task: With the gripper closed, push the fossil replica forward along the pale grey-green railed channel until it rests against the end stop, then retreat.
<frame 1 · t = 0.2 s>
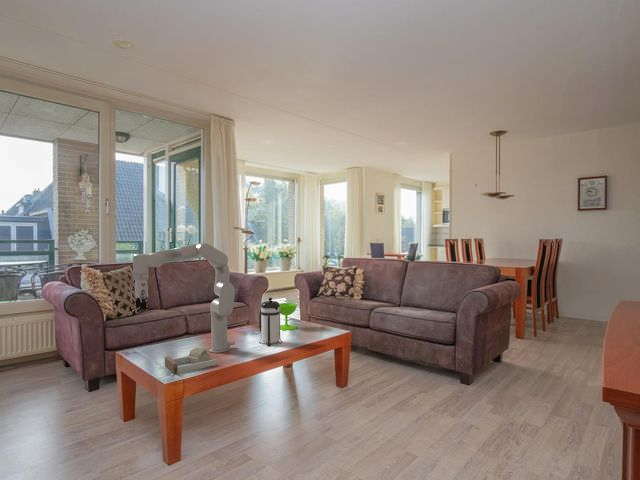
hand: (141, 308, 206), 31 cm above the table, tool pointing down, fingers open, 9 cm apart
fossil replica: (199, 364, 207), on the table
wineglass: (286, 328, 290), on the table
channel: (191, 365, 205), on the table
coffee press: (269, 343, 249), on the table
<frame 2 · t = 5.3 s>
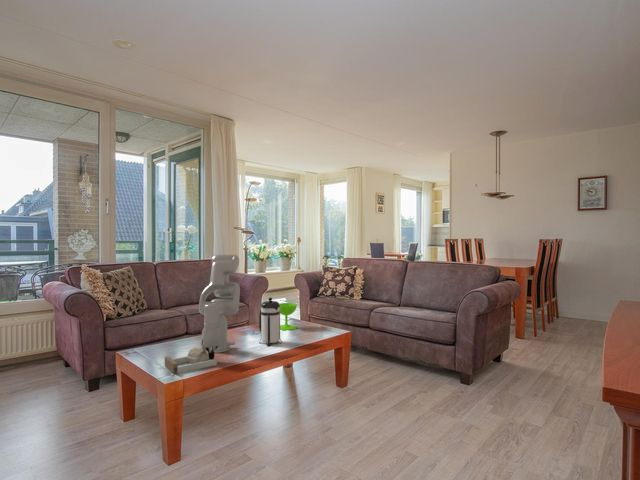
hand: (211, 358, 211), 1 cm above the table, tool pointing down, fingers closed
fossil replica: (198, 364, 207), on the table, touching gripper
everything else where it was.
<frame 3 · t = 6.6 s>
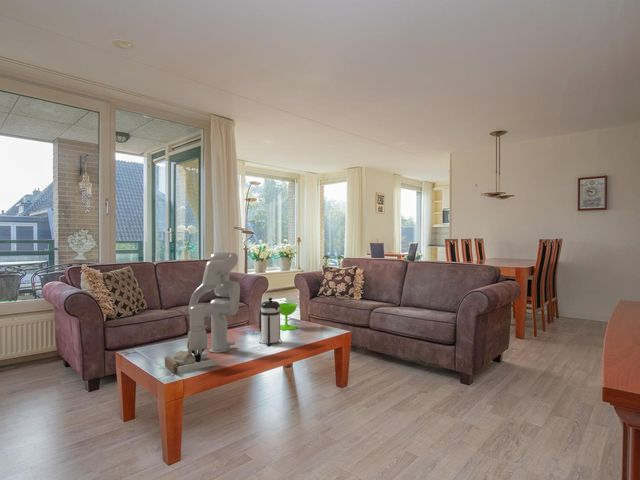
hand: (197, 361, 207), 1 cm above the table, tool pointing down, fingers closed
fossil replica: (184, 367, 202), on the table, touching channel, gripper
everything else where it was.
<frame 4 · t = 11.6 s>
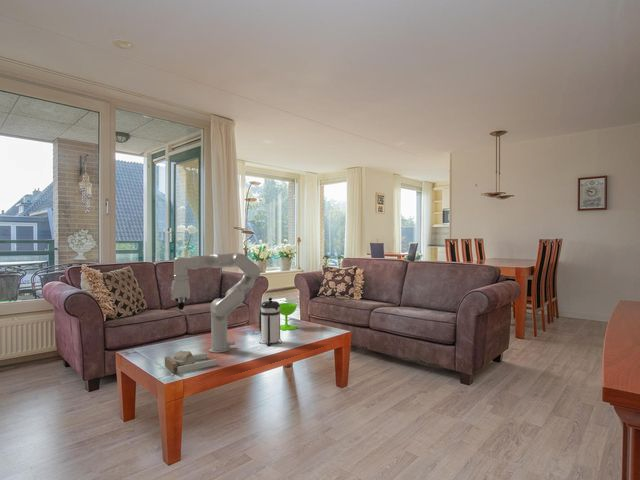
hand: (180, 309, 223), 27 cm above the table, tool pointing down, fingers closed
fossil replica: (184, 367, 202), on the table
everything else where it was.
at the end: fossil replica inside the target area (0.8 cm from its centre), on the table; fossil replica moved 8.2 cm from its start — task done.
